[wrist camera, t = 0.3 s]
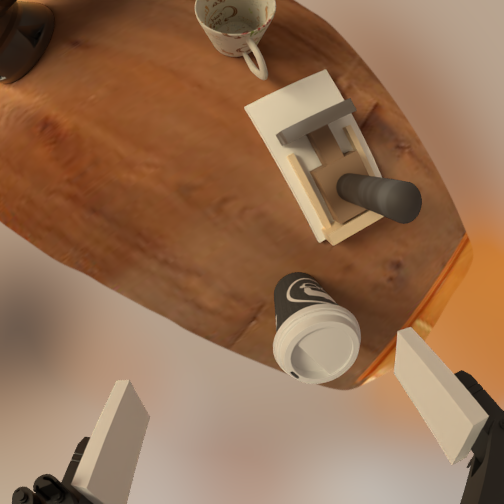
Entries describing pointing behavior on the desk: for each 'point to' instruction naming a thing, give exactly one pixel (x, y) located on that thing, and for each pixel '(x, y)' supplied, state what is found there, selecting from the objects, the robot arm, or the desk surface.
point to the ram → (351, 173)
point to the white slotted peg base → (311, 149)
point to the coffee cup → (312, 331)
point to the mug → (237, 27)
